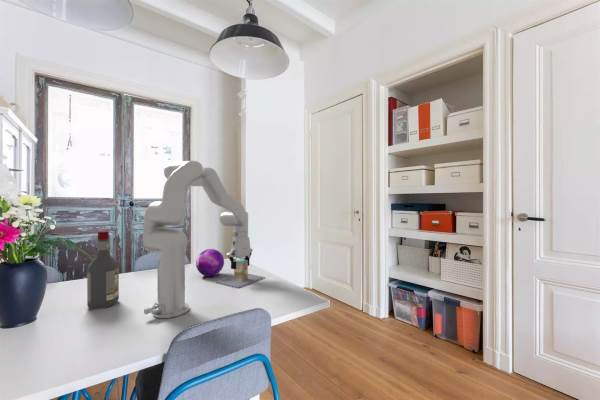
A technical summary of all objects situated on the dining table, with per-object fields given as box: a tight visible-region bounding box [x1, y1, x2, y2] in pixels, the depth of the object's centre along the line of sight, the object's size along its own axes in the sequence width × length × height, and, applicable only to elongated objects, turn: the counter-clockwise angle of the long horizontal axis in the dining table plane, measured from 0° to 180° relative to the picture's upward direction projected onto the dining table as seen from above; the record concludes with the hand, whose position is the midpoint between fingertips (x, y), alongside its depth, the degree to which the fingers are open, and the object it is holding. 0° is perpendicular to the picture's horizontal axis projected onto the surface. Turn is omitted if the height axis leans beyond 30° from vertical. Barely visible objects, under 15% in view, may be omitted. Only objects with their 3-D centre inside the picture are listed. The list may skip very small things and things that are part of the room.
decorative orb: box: [195, 248, 225, 277], centre depth 152 cm, size 15×15×15 cm
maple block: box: [233, 258, 249, 281], centre depth 143 cm, size 5×5×10 cm
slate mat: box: [215, 273, 266, 289], centre depth 143 cm, size 20×16×1 cm
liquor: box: [86, 230, 120, 310], centre depth 110 cm, size 9×9×30 cm
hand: (240, 267), depth 142 cm, fingers open, 9 cm apart
